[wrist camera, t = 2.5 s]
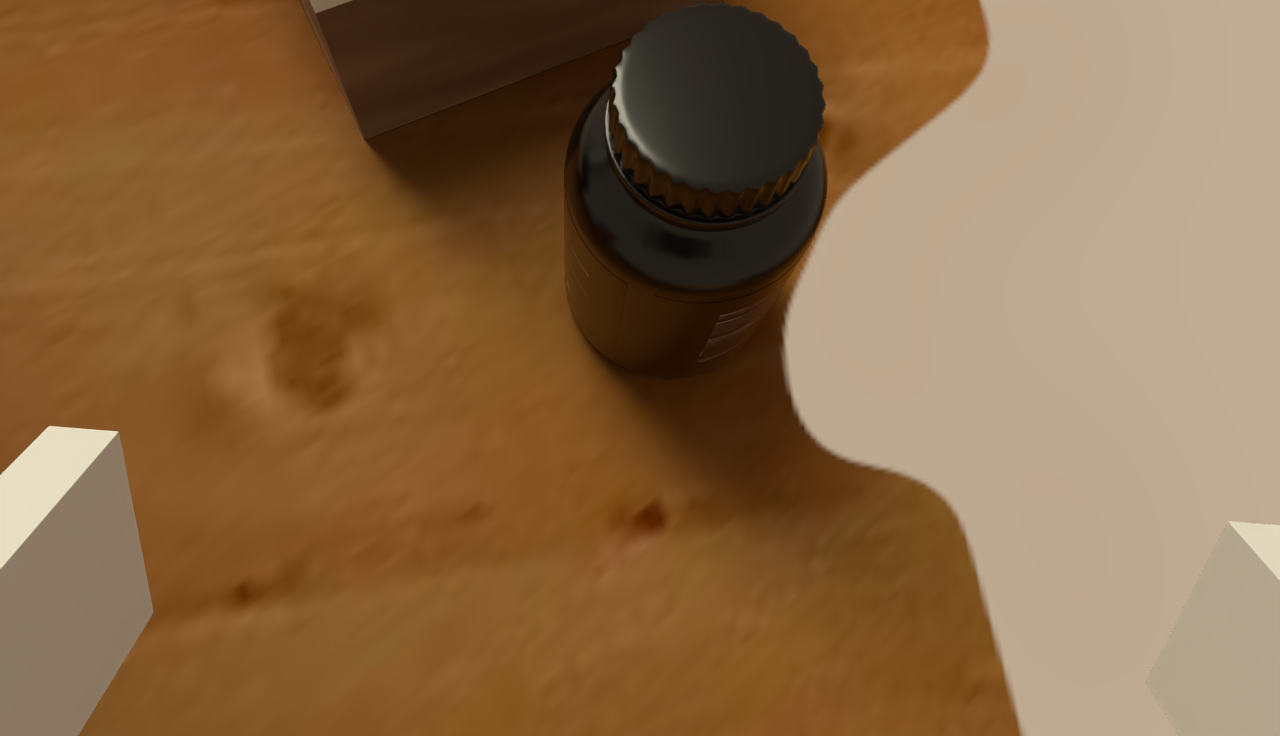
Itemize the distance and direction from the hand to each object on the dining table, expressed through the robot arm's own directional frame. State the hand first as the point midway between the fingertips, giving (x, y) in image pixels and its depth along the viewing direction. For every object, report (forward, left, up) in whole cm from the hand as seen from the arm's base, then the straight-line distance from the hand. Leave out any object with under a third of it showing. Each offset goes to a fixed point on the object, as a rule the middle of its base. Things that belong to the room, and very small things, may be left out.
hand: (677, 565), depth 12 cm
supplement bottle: (-8, +6, -19) cm, 21 cm away
